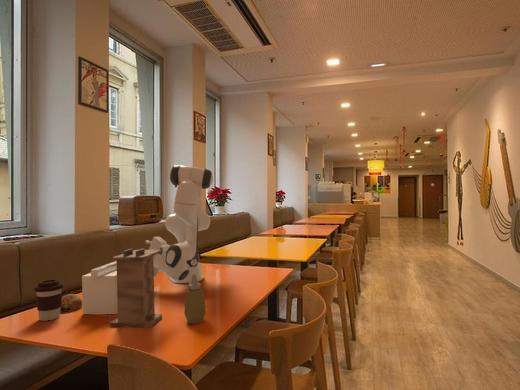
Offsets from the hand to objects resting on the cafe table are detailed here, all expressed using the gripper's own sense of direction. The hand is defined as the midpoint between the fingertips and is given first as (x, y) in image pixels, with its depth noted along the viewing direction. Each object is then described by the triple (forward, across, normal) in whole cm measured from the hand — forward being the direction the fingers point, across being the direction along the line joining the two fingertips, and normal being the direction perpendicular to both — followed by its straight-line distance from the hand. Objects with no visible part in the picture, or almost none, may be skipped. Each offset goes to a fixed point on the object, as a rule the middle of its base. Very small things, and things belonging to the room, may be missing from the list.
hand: (143, 249), depth 185 cm
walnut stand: (-40, -7, +37) cm, 55 cm away
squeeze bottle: (-60, +2, +31) cm, 68 cm away
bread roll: (-3, -24, +38) cm, 44 cm away
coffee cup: (-7, -22, +49) cm, 55 cm away
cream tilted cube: (-19, -16, +31) cm, 39 cm away
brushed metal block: (-12, -2, +30) cm, 32 cm away
